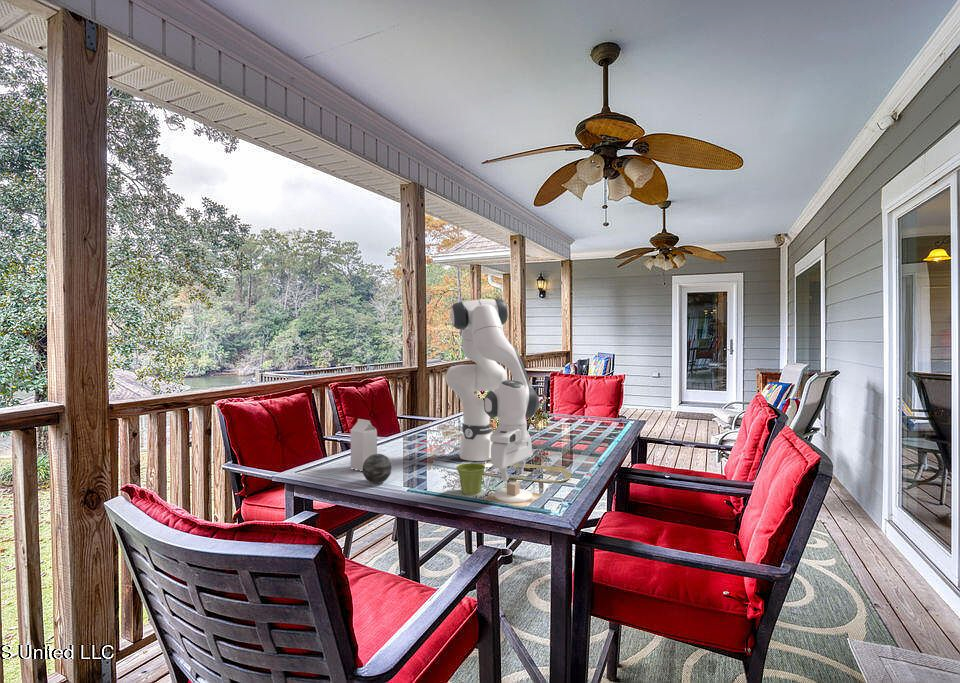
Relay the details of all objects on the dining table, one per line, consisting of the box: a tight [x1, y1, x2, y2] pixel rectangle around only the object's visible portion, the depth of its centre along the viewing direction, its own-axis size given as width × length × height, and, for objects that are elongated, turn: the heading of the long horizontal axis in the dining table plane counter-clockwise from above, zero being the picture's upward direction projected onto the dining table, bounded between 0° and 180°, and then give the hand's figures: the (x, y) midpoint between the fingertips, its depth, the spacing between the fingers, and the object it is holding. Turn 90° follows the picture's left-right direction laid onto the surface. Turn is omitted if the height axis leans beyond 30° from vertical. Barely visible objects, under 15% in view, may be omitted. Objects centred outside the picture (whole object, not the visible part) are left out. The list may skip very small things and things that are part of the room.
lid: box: [493, 480, 532, 503], centre depth 153 cm, size 12×12×4 cm
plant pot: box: [456, 462, 486, 496], centre depth 158 cm, size 9×9×9 cm
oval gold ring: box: [482, 462, 572, 484], centre depth 180 cm, size 19×35×2 cm, turn 67°
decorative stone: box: [362, 453, 393, 484], centre depth 169 cm, size 10×10×10 cm
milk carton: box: [350, 418, 378, 472], centre depth 187 cm, size 7×7×19 cm
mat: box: [482, 486, 544, 509], centre depth 153 cm, size 14×14×1 cm
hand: (512, 476), depth 152 cm, fingers open, 8 cm apart
